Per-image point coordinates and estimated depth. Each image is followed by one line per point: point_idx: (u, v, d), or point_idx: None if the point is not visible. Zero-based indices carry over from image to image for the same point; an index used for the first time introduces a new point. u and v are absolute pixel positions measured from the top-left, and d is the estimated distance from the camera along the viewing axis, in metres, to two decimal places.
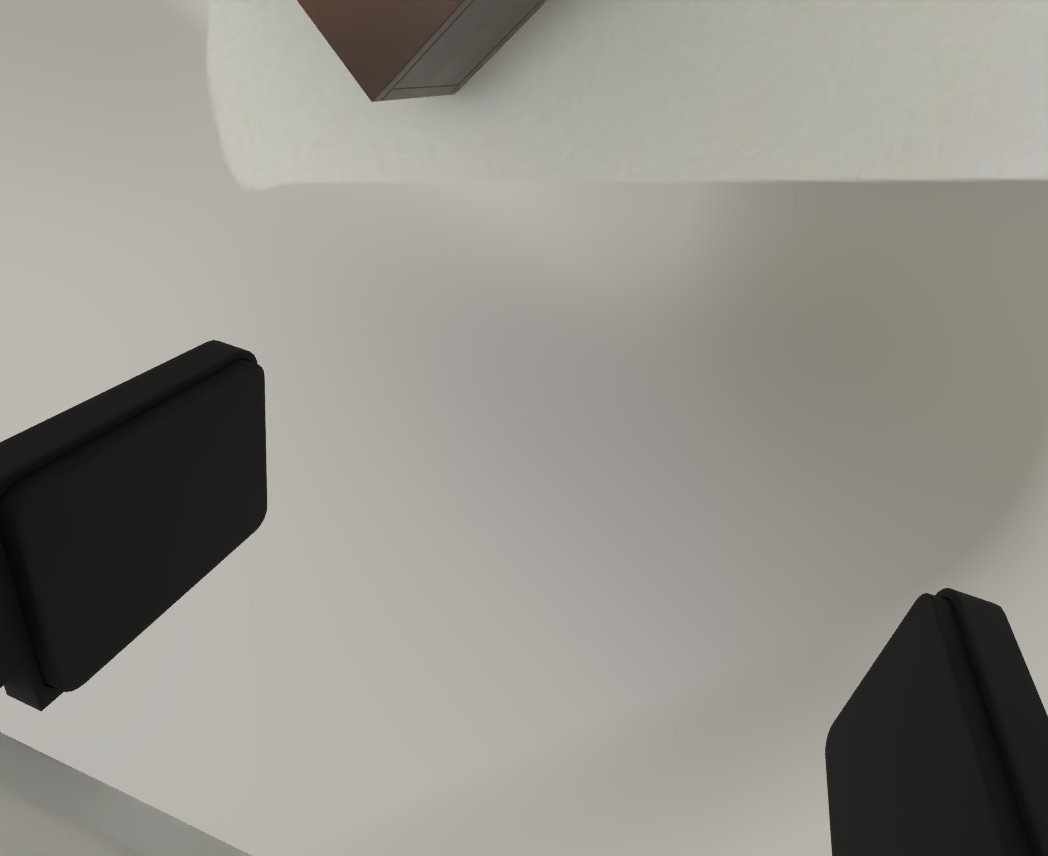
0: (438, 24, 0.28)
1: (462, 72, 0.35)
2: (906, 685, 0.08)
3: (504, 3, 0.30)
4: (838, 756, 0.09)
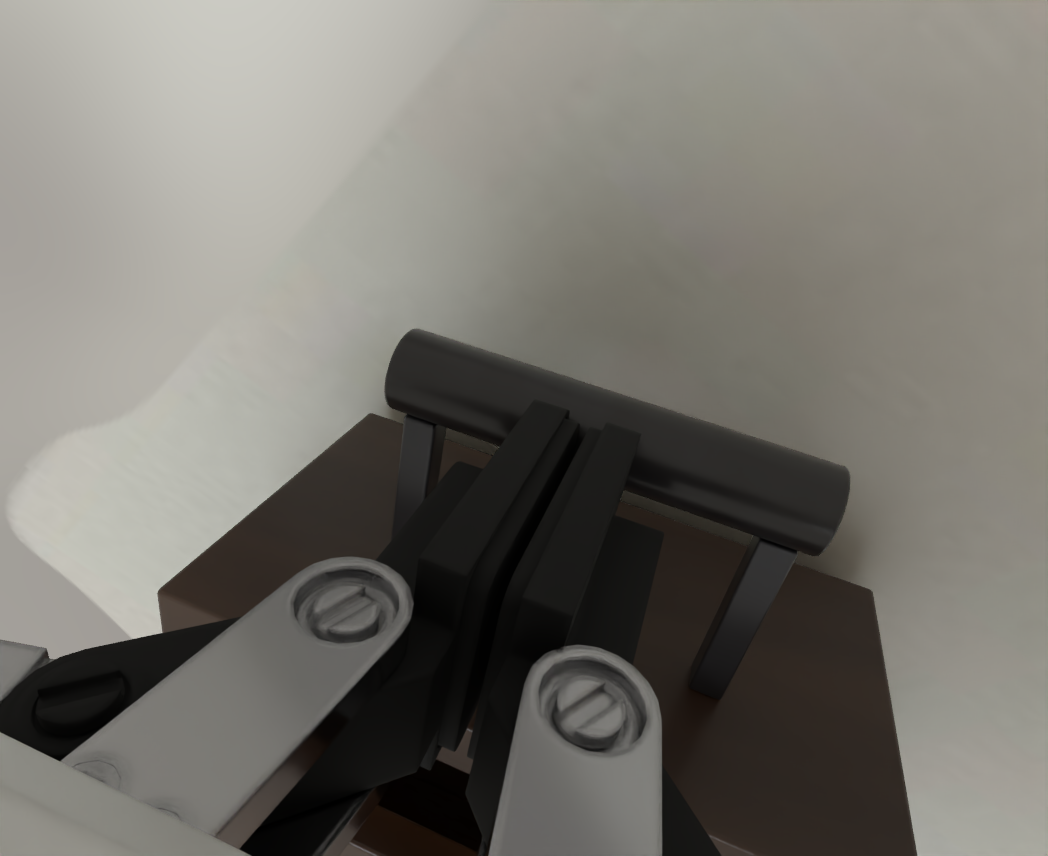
0: None
1: None
2: None
3: None
4: None
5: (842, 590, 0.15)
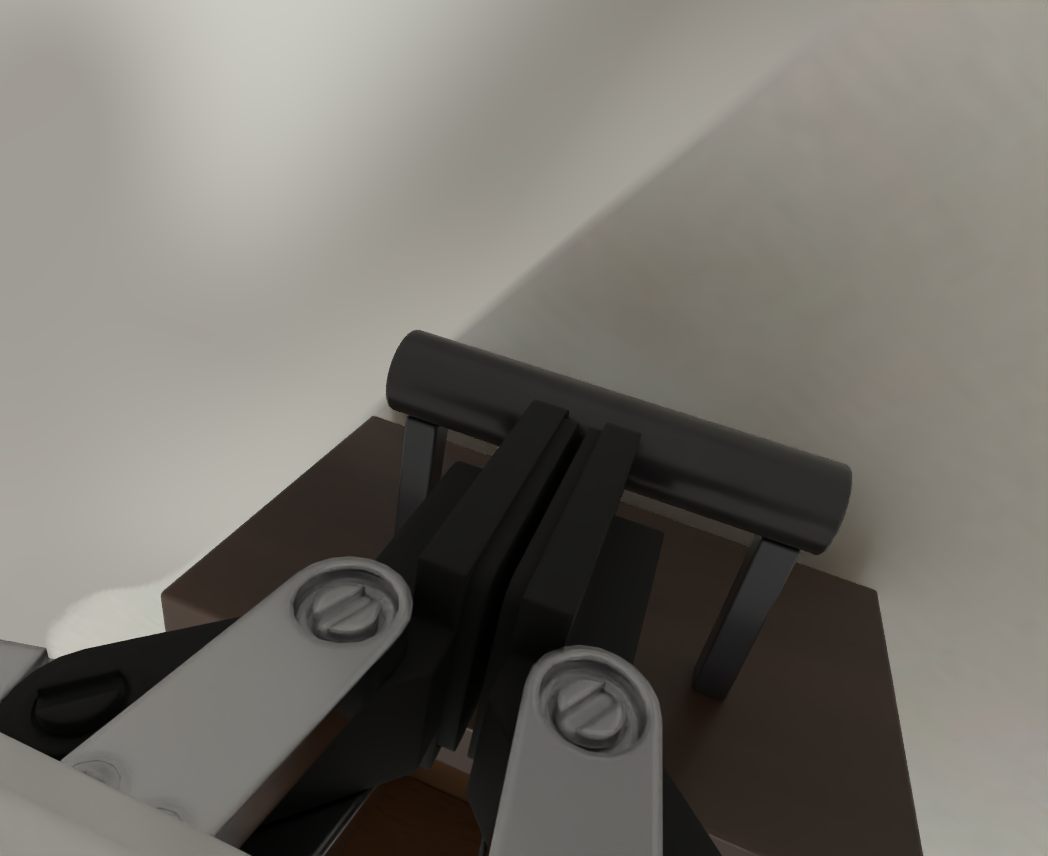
0: None
1: None
2: None
3: None
4: None
5: (846, 590, 0.15)
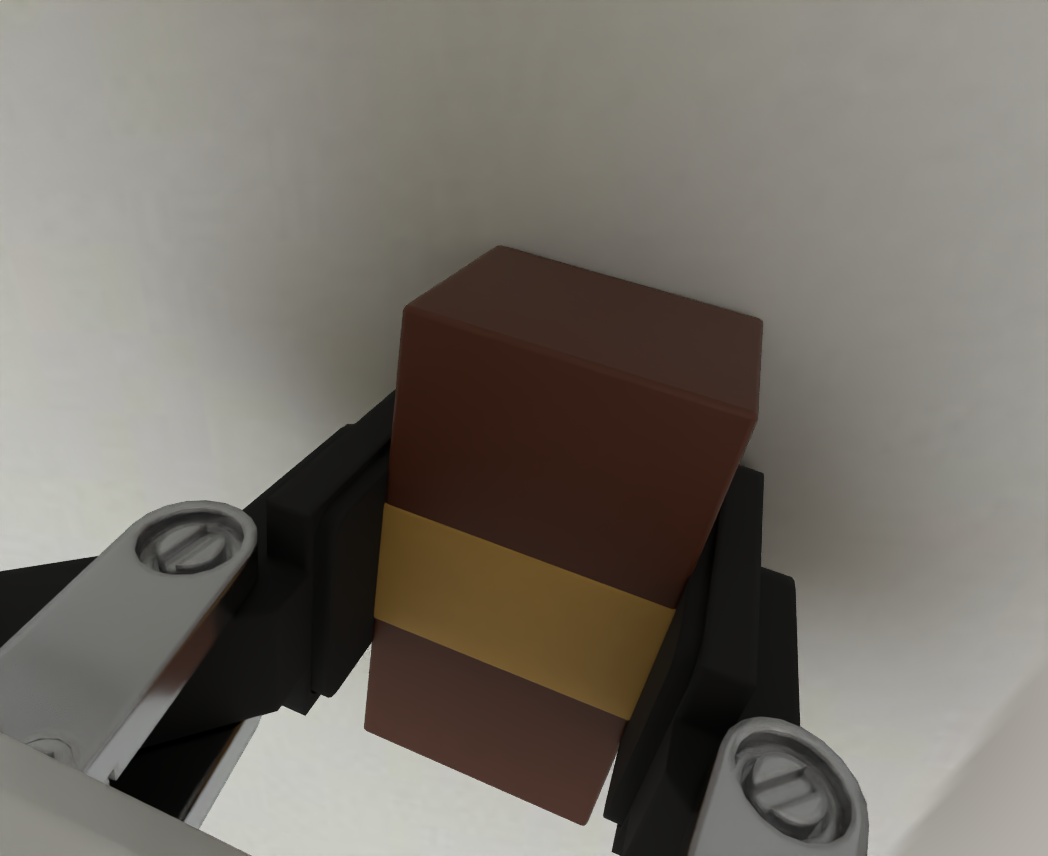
0: None
1: None
2: None
3: None
4: None
5: None
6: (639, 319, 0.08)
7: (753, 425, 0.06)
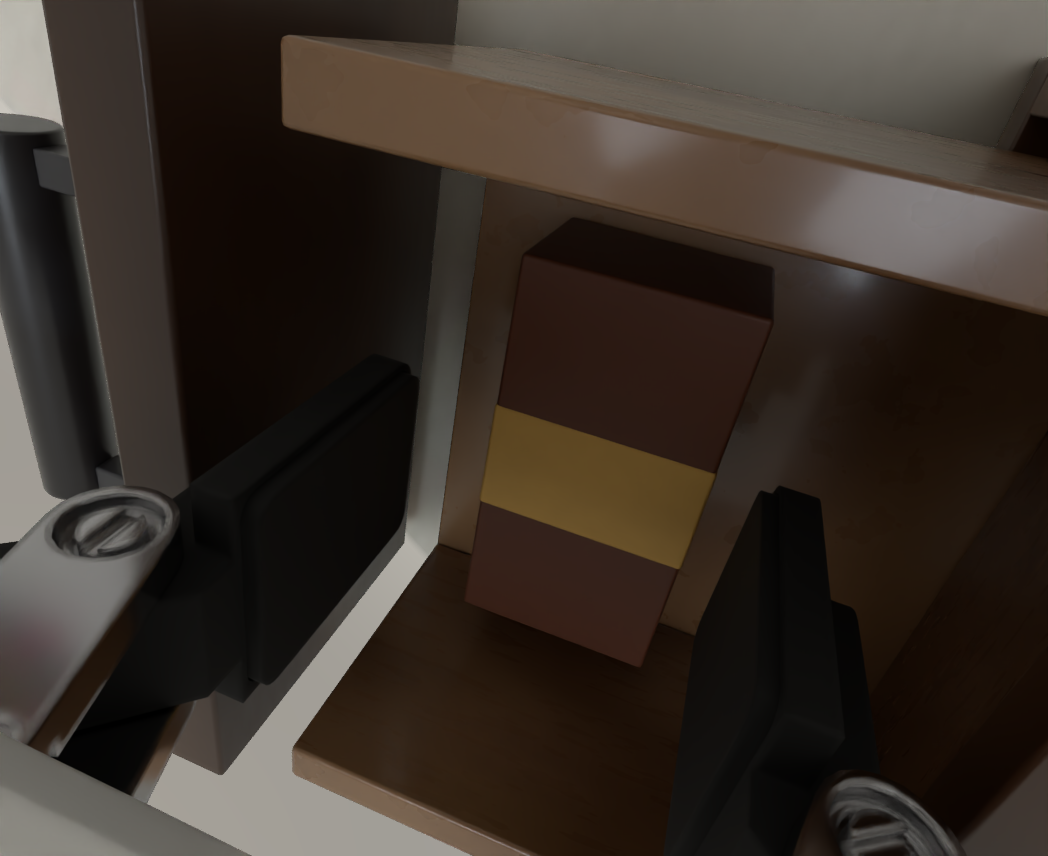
0: None
1: None
2: (738, 566, 0.09)
3: None
4: (698, 644, 0.10)
5: None
6: (685, 265, 0.10)
7: (771, 328, 0.09)
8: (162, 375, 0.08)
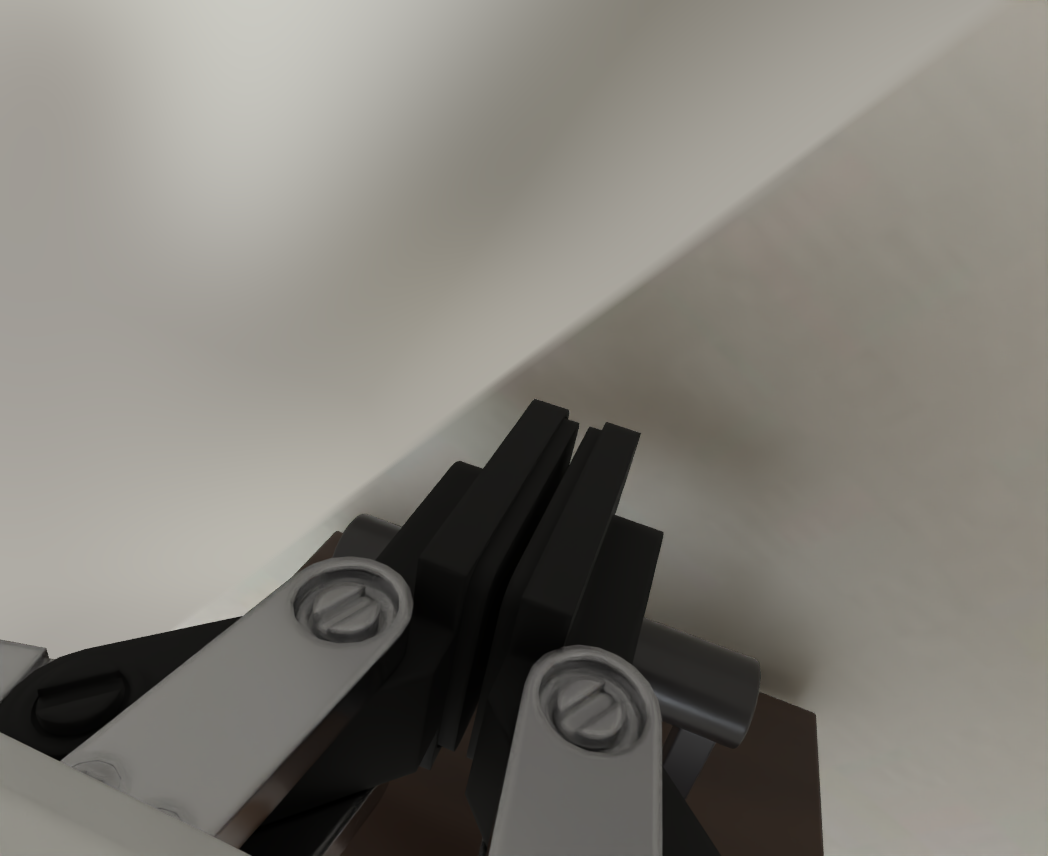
0: None
1: None
2: None
3: None
4: None
5: (786, 715, 0.16)
6: None
7: None
8: None
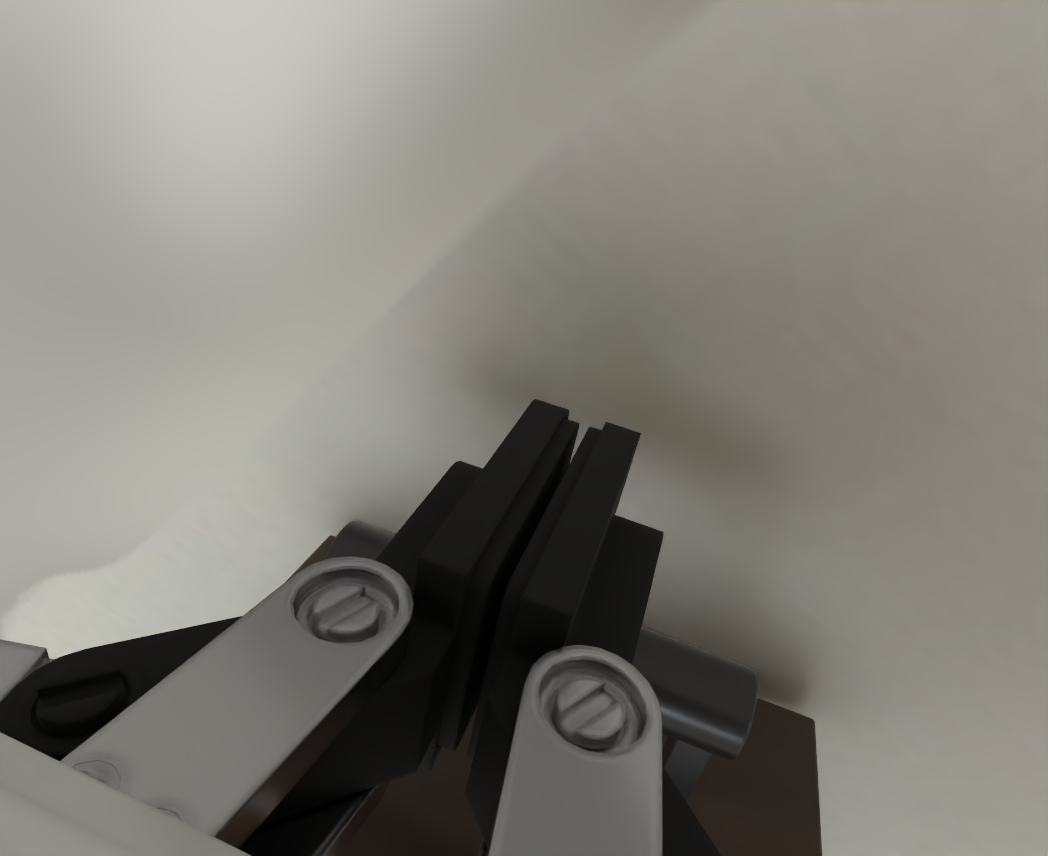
0: None
1: None
2: None
3: None
4: None
5: (784, 722, 0.16)
6: None
7: None
8: None
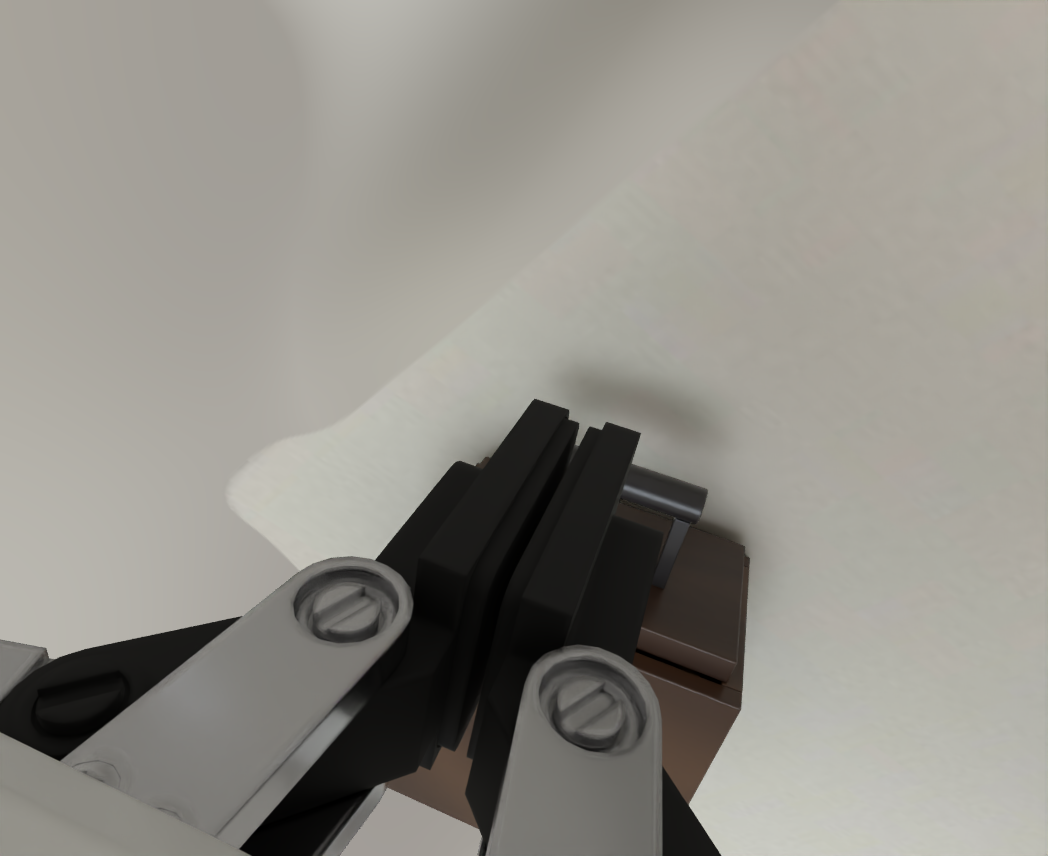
0: (451, 815, 0.34)
1: None
2: None
3: None
4: None
5: (729, 545, 0.31)
6: None
7: None
8: None
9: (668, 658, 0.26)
